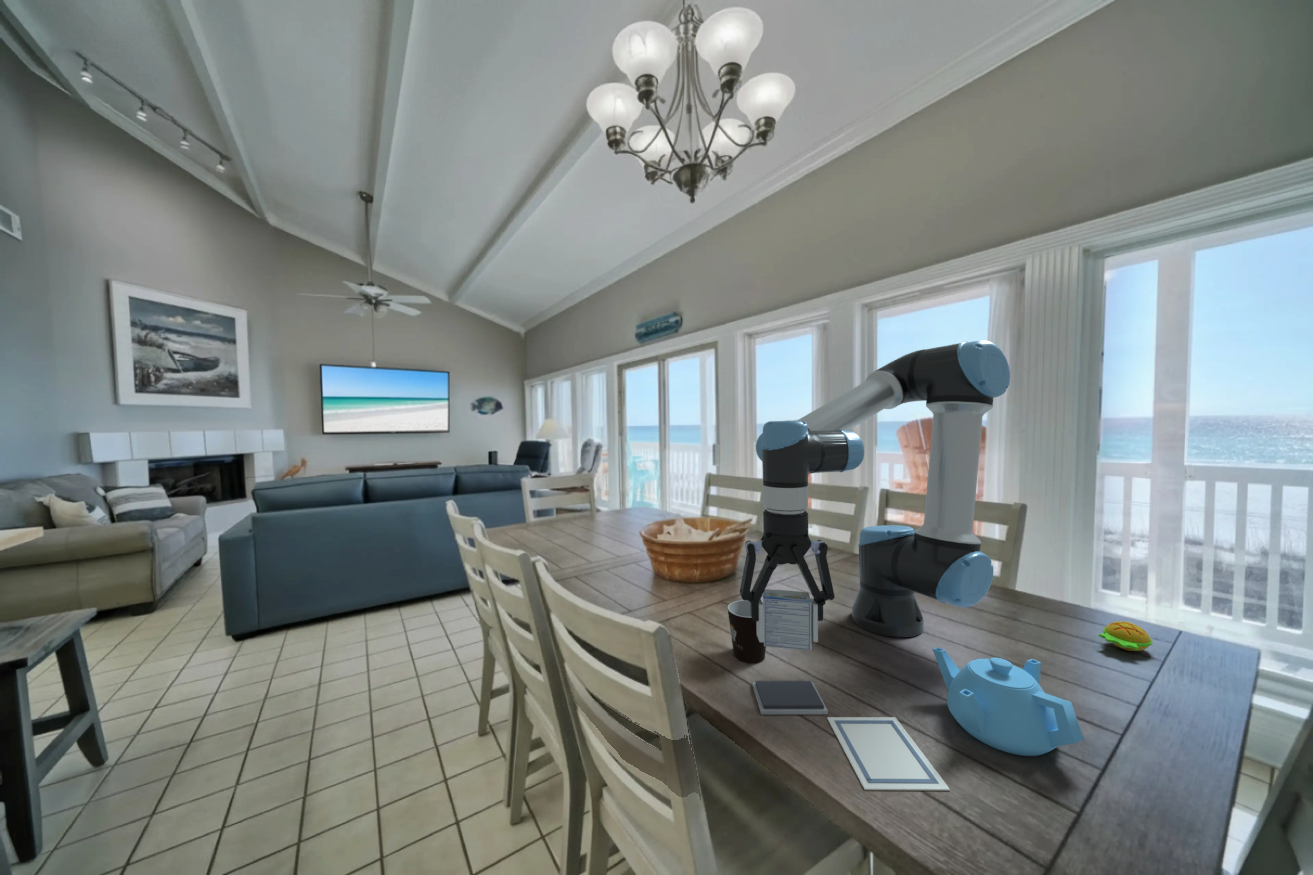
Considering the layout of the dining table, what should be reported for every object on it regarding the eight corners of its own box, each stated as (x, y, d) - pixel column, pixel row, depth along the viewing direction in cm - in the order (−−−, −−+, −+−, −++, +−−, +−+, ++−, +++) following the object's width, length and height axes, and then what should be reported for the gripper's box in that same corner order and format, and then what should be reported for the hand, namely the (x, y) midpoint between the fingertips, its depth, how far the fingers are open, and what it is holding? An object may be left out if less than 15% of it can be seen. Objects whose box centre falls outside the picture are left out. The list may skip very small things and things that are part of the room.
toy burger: (1158, 651, 89) (1159, 625, 89) (1139, 664, 85) (1139, 637, 85) (1112, 637, 95) (1112, 612, 95) (1091, 648, 91) (1091, 623, 91)
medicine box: (809, 639, 78) (809, 591, 77) (812, 652, 73) (811, 601, 73) (763, 635, 79) (763, 587, 79) (763, 647, 75) (763, 597, 75)
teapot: (955, 750, 64) (955, 678, 64) (931, 691, 78) (931, 631, 78) (1089, 778, 59) (1090, 700, 58) (1037, 709, 73) (1038, 645, 72)
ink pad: (812, 685, 81) (812, 678, 81) (827, 714, 73) (827, 707, 73) (752, 685, 81) (752, 679, 81) (761, 714, 73) (761, 707, 73)
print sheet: (895, 718, 71) (895, 716, 71) (949, 790, 57) (949, 788, 57) (827, 718, 72) (827, 716, 72) (864, 789, 58) (864, 787, 58)
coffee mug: (771, 668, 86) (770, 618, 86) (727, 664, 88) (726, 615, 88) (768, 639, 98) (767, 595, 97) (729, 637, 99) (728, 593, 99)
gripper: (839, 504, 79) (840, 628, 80) (721, 506, 80) (723, 628, 81) (856, 513, 72) (857, 649, 72) (726, 514, 72) (728, 649, 73)
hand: (786, 638), depth 76 cm, fingers closed on medicine box, 8 cm apart
